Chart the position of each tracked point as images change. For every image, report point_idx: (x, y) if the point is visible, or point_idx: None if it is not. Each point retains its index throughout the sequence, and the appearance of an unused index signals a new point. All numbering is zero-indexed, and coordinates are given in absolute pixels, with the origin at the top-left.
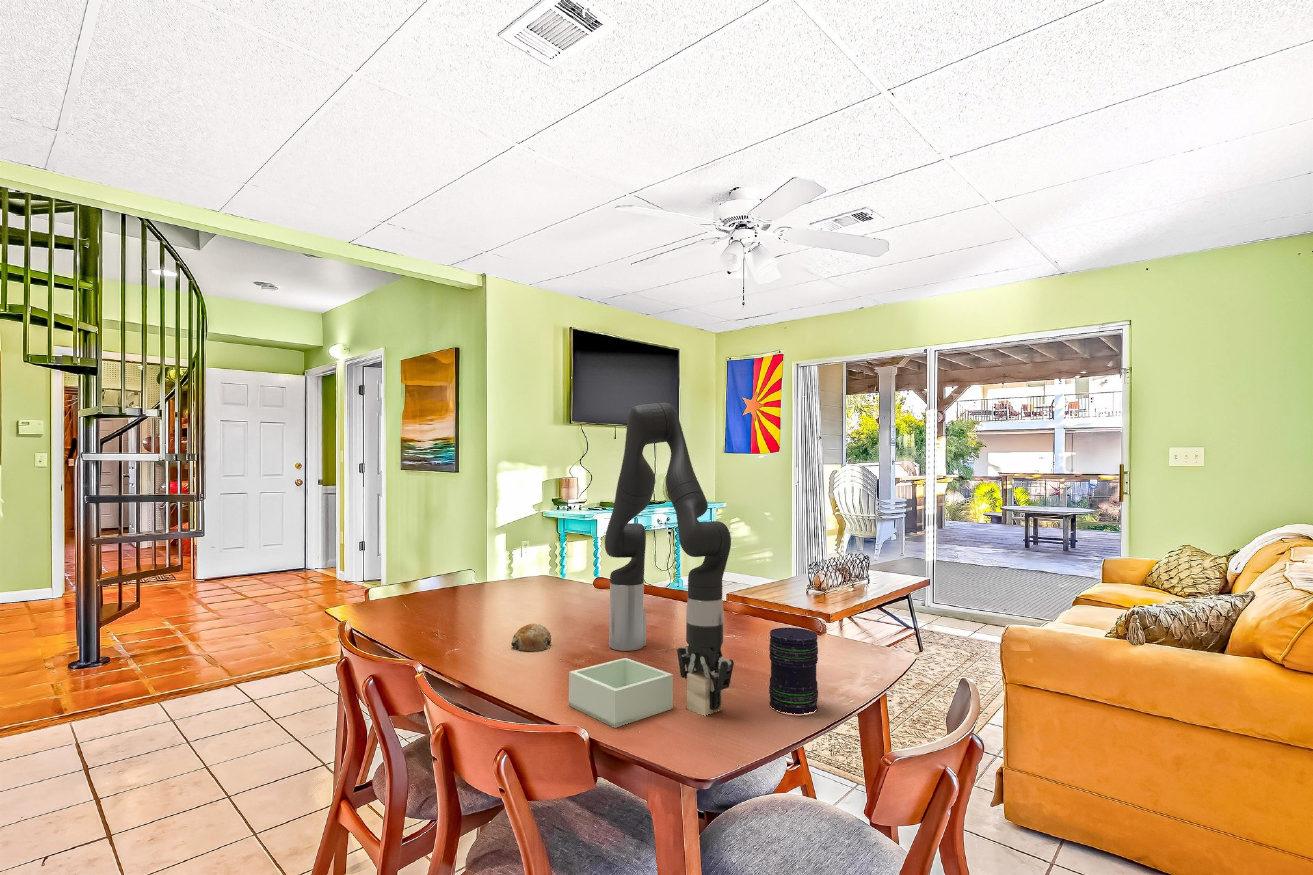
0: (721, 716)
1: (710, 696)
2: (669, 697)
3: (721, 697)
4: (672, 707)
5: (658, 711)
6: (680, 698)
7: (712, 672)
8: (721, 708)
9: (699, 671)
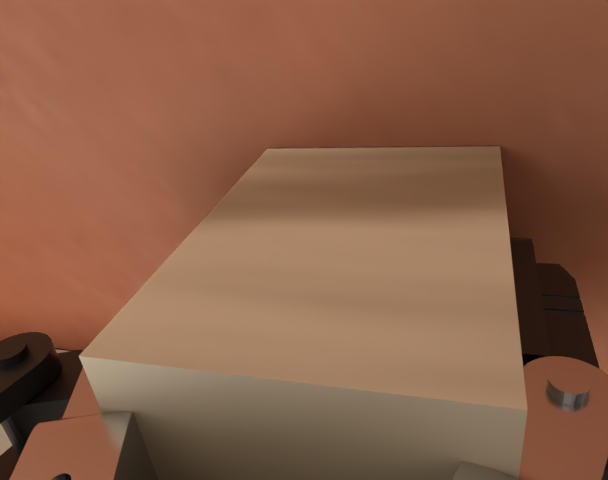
0: (601, 257)
1: None
2: None
3: (504, 204)
4: None
5: None
6: (101, 211)
7: (298, 404)
8: (500, 155)
9: (155, 464)
